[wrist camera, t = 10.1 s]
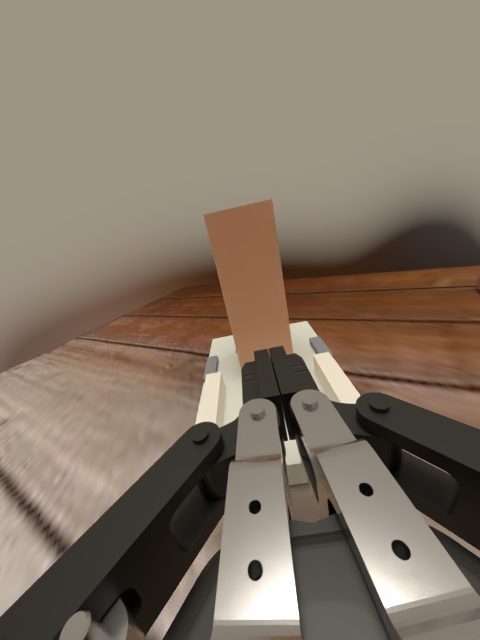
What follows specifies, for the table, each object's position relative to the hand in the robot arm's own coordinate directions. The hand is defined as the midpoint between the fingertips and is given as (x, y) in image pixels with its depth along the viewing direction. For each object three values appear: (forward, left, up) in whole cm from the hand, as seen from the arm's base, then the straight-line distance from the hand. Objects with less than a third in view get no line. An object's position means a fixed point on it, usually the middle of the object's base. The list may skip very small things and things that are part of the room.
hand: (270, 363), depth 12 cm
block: (0, +13, -8) cm, 16 cm away
